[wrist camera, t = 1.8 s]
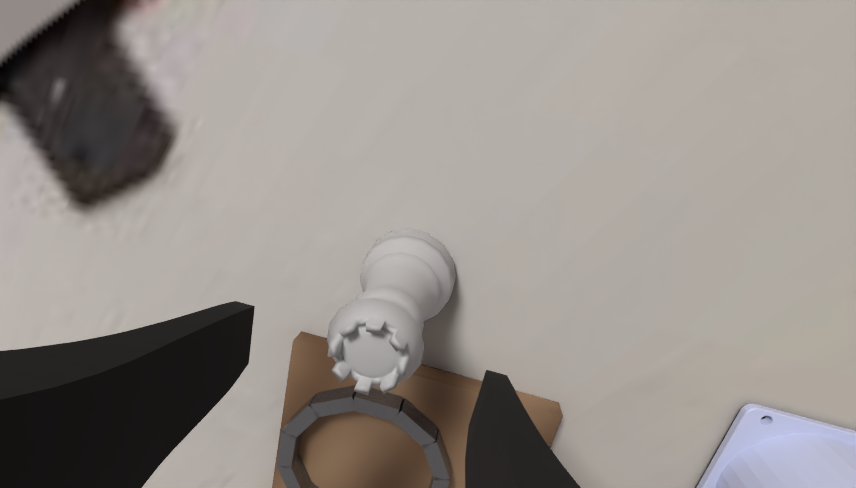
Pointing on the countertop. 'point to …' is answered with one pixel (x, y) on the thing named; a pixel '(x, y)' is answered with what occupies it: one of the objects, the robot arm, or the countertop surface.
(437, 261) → the rook chess piece
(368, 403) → the socket ring
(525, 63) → the countertop surface
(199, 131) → the countertop surface
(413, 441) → the carrier board
